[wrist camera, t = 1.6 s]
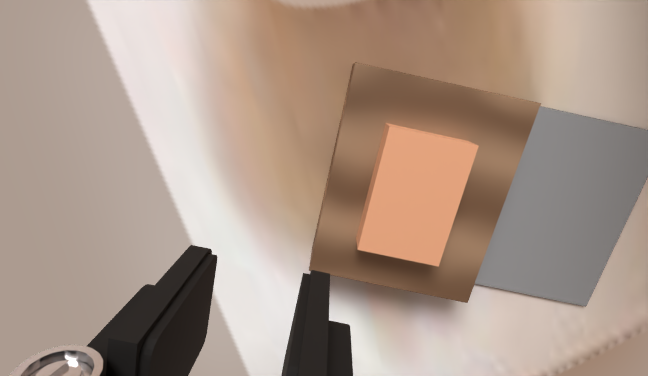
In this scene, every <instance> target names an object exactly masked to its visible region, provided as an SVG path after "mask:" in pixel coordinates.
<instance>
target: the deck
mask: <svg viewBox="0 0 648 376" xmlns="http://www.w3.org/2000/svg"><path fill="white" fill-rule="evenodd" d="M540 105H541V103H537V102H532V101H528V100H523V99H519V98H514V97H510V96H505V95H501V94H496V93H492V92H487V91H483V90H478V89H474V88H469V87H465V86H460V85H456V84H451V83H447V82H442V81H438V80H433V79H429V78H424V77H420V76H415V75H411V74H406V73H402V72H397V71H393V70H388V69H384V68H379V67H375V66H370V65H366V64H361V63H357V62H355V63H354V64H353V66H352V71H351V75H350V80H349V84H348V89H347V93H346V98H345V102H344V107H343V111H342V116H341V121H340V125H339V130H338V134H337V139H336V143H335V148H334V152H333V157H332V161H331V166H330V170H329V175H328V179H327V184H326V188H325V193H324V197H323V202H322V206H321V211H320V215H319V220H318V224H317V229H316V233H315V238H314V242H313V247H312V253H311V260H310V267H309V271H311V270H315V271H320V272H325V273H330V275H334V276H339V277H344V278H348V279H353V280H358V281H363V282H368V283H373V284H378V285H383V286H388V287H392V288H397V289H402V290H407V291H412V292H417V293H422V294H427V295H431V296H436V297H441V298H446V299H451V300H456V301H461V302H466V303H467V302H468V300H469V297H470V294H471V292H472V289H473V286H474V283H475V281H476V278H477V275H478V273H479V270H480V267H481V264H482V262H483V259H484V256H485V254H486V251H487V248H488V246H489V243H490V240H491V237H492V235H493V232H494V229H495V227H496V224H497V221H498V218H499V216H500V213H501V210H502V208H503V205H504V202H505V200H506V197H507V194H508V191H509V189H510V186H511V183H512V181H513V178H514V175H515V172H516V170H517V167H518V164H519V162H520V159H521V156H522V153H523V151H524V148H525V145H526V143H527V140H528V137H529V135H530V132H531V129H532V126H533V124H534V121H535V118H536V116H537V113H538V110H539V107H540ZM386 123H388V124H393V125H397V126H402V127H406V128H411V129H416V130H420V131H425V132H429V133H434V134H438V135H443V136H448V137H452V138H457V139H461V140H466V141H469V142H472V143H474V144H476V145H478V146H479V147H478V150H477V153H476V156H475V159H474V162H473V165H472V168H471V171H470V174H469V177H468V180H467V183H466V186H465V189H464V192H463V195H462V198H461V201H460V204H459V207H458V210H457V213H456V216H455V219H454V222H453V225H452V228H451V231H450V234H449V237H448V240H447V243H446V246H445V249H444V252H443V255H442V258H441V261H440V264H439V267H438V266H433V265H429V264H424V263H419V262H414V261H409V260H404V259H400V258H395V257H390V256H385V255H380V254H375V253H371V252H366V251H361V250H358V249H357V242H356V237H357V233H358V229H359V225H360V221H361V217H362V213H363V209H364V206H365V202H366V198H367V194H368V190H369V186H370V182H371V178H372V174H373V170H374V167H375V163H376V159H377V155H378V151H379V147H380V143H381V139H382V135H383V131H384V127H385V124H386Z"/></svg>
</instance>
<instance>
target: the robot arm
mask: <svg viewBox="0 0 648 376" xmlns="http://www.w3.org/2000/svg"><path fill="white" fill-rule="evenodd" d="M216 264H217V255H212V251H211V249H208V248H203V247H198V246H193V245H191V246H190V247H189V248H188V249H187V250H186V251H185V252H184V253H183V254H182V255H181V257H180V258H179V259H178V260H177V261H176V262H175V263H174V265H173V266H172V267H171V268H170V269H169V270H168V271H167V272H166V273H165V275H164V276H163V277H162V278H161V279H160V280H159V281H158V282H157V284H156V285H155V286H154V285H149V284H147V285H145V286H144V287H142V288H141V289H140V290H139V291H138V292H137V293H136V295H135V296H134V297H133V298H132V299H131V300H130V301H129V302H128V303H127V304H126V305H125V306H124V307H123V308H122V310H120V311H119V313H118V314H117V315H116V316H115V317H114V318H113V319H112V320H111V321H110V322H109V323H108V324H107V325H106V326H105V327H104V328H103V329H102V330H101V332H100V333H99V334H98V335H97V336H96V337H95V338H94V339H93V340H92V341H91V342H90V343H89V344H88V345H87V346H83V345H65V346H57V347H54V348H50V349H48V350H44V351H41V352H39V353H37V354H35V355H34V356H32V357H30V358H28V359H27V360H25V361H24V362H23V363H22V364H21V365H19V366H18V367H17V368H16V369H15V370H14V371H13V372H12V373H11V374H10V375H8V376H188V375H189V373H190V371H191V369H192V367H193V365H194V363H195V361H196V359H197V357H198V355H199V353H200V351H201V349H202V347H203V344H204V342H205V338H206V334H207V327H208V320H209V313H210V306H211V299H212V292H213V285H214V278H215V271H216ZM329 290H330V273H325V272H320V271H315V270H311V273H310V274H305V273H303V277H302V281H301V286H300V290H299V295H298V299H297V304H296V309H295V313H294V318H293V322H292V327H291V331H290V336H289V341H288V345H287V350H286V355H285V360H284V365H283V370H282V376H353V369H352V352H351V335H350V326H349V325H348V324H343V323H338V322H333V321H329Z"/></svg>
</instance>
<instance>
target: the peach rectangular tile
mask: <svg viewBox="0 0 648 376" xmlns="http://www.w3.org/2000/svg"><path fill="white" fill-rule="evenodd" d="M478 147H479V146H478V145H476V144H474V143H472V142H469V141H466V140H461V139H457V138H452V137H448V136H443V135H438V134H434V133H429V132H425V131H420V130H416V129H411V128H406V127H402V126H397V125H393V124H388V123H386V124H385V127H384V131H383V135H382V139H381V143H380V147H379V151H378V155H377V159H376V163H375V167H374V170H373V174H372V178H371V182H370V186H369V190H368V194H367V198H366V202H365V206H364V209H363V213H362V217H361V221H360V225H359V229H358V233H357V237H356V242H357V249H358V250H361V251H366V252H371V253H375V254H380V255H385V256H390V257H395V258H400V259H404V260H409V261H414V262H419V263H424V264H429V265H433V266H438V267H439V264H440V261H441V258H442V255H443V252H444V249H445V246H446V243H447V240H448V237H449V234H450V231H451V228H452V225H453V222H454V219H455V216H456V213H457V210H458V207H459V204H460V201H461V198H462V195H463V192H464V189H465V186H466V183H467V180H468V177H469V174H470V171H471V168H472V165H473V162H474V159H475V156H476V153H477V150H478Z"/></svg>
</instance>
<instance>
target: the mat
mask: <svg viewBox="0 0 648 376" xmlns="http://www.w3.org/2000/svg"><path fill="white" fill-rule="evenodd" d="M647 177H648V130H645V129H640V128H636V127H631V126H627V125H622V124H618V123H613V122H609V121H604V120H600V119H595V118H591V117H586V116H582V115H577V114H573V113H568V112H564V111H559V110H555V109H550V108H546V107H541V106H540V107H539V110H538V113H537V116H536V118H535V121H534V124H533V126H532V129H531V132H530V135H529V137H528V140H527V143H526V145H525V148H524V151H523V153H522V156H521V159H520V162H519V164H518V167H517V170H516V172H515V175H514V178H513V181H512V183H511V186H510V189H509V191H508V194H507V197H506V200H505V202H504V205H503V208H502V210H501V213H500V216H499V218H498V221H497V224H496V227H495V229H494V232H493V235H492V237H491V240H490V243H489V246H488V248H487V251H486V254H485V256H484V259H483V262H482V264H481V267H480V270H479V273H478V275H477V278H476V281H475V283H474V284H479V285H484V286H489V287H494V288H499V289H503V290H508V291H513V292H518V293H523V294H528V295H532V296H537V297H542V298H547V299H552V300H557V301H561V302H566V303H571V304H576V305H581V306H587V304H588V301H589V299H590V297H591V295H592V293H593V291H594V289H595V287H596V285H597V282H598V280H599V278H600V276H601V274H602V272H603V270H604V268H605V266H606V264H607V261H608V259H609V257H610V255H611V253H612V251H613V249H614V247H615V245H616V243H617V240H618V238H619V236H620V234H621V232H622V230H623V228H624V226H625V224H626V222H627V219H628V217H629V215H630V213H631V211H632V209H633V207H634V205H635V203H636V201H637V198H638V196H639V194H640V192H641V190H642V188H643V186H644V184H645V182H646V180H647Z"/></svg>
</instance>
